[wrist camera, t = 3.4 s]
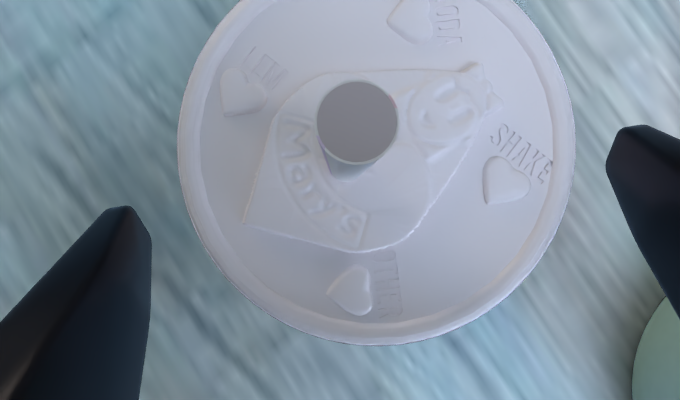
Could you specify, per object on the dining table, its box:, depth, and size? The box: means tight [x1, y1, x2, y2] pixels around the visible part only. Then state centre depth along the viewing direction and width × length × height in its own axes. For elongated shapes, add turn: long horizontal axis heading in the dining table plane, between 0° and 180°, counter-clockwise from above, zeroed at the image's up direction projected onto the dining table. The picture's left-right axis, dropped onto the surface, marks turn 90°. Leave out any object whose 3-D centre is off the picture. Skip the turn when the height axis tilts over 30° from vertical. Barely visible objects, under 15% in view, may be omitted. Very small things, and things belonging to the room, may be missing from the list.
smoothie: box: [177, 0, 576, 346], centre depth 10 cm, size 6×6×14 cm
